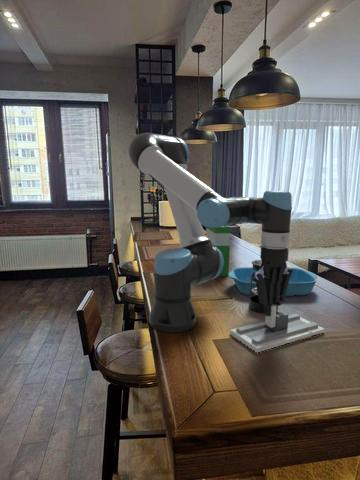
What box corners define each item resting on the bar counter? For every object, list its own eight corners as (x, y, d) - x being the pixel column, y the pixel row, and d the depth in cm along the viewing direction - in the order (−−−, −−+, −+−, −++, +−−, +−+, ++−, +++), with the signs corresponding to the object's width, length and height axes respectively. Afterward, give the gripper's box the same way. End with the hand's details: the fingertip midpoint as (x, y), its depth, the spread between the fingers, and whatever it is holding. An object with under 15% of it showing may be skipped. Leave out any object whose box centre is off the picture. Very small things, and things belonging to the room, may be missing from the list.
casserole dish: (232, 298, 124) (233, 281, 123) (224, 281, 146) (224, 266, 145) (326, 299, 125) (327, 282, 123) (303, 281, 147) (305, 266, 145)
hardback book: (205, 266, 170) (206, 222, 165) (218, 266, 171) (220, 222, 166) (213, 276, 153) (215, 227, 148) (228, 275, 154) (230, 226, 149)
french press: (246, 302, 120) (249, 242, 116) (271, 302, 120) (275, 243, 116) (251, 314, 109) (255, 249, 105) (279, 315, 108) (284, 250, 104)
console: (256, 353, 84) (257, 344, 84) (230, 334, 95) (230, 326, 94) (324, 333, 96) (324, 325, 96) (293, 318, 106) (294, 311, 106)
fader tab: (276, 333, 92) (277, 314, 91) (265, 327, 96) (266, 309, 95) (287, 330, 94) (288, 312, 93) (276, 324, 98) (277, 306, 97)
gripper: (265, 251, 83) (261, 335, 87) (302, 247, 88) (296, 326, 92) (247, 246, 89) (244, 324, 93) (282, 242, 95) (278, 316, 99)
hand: (270, 325), depth 93 cm, fingers closed
